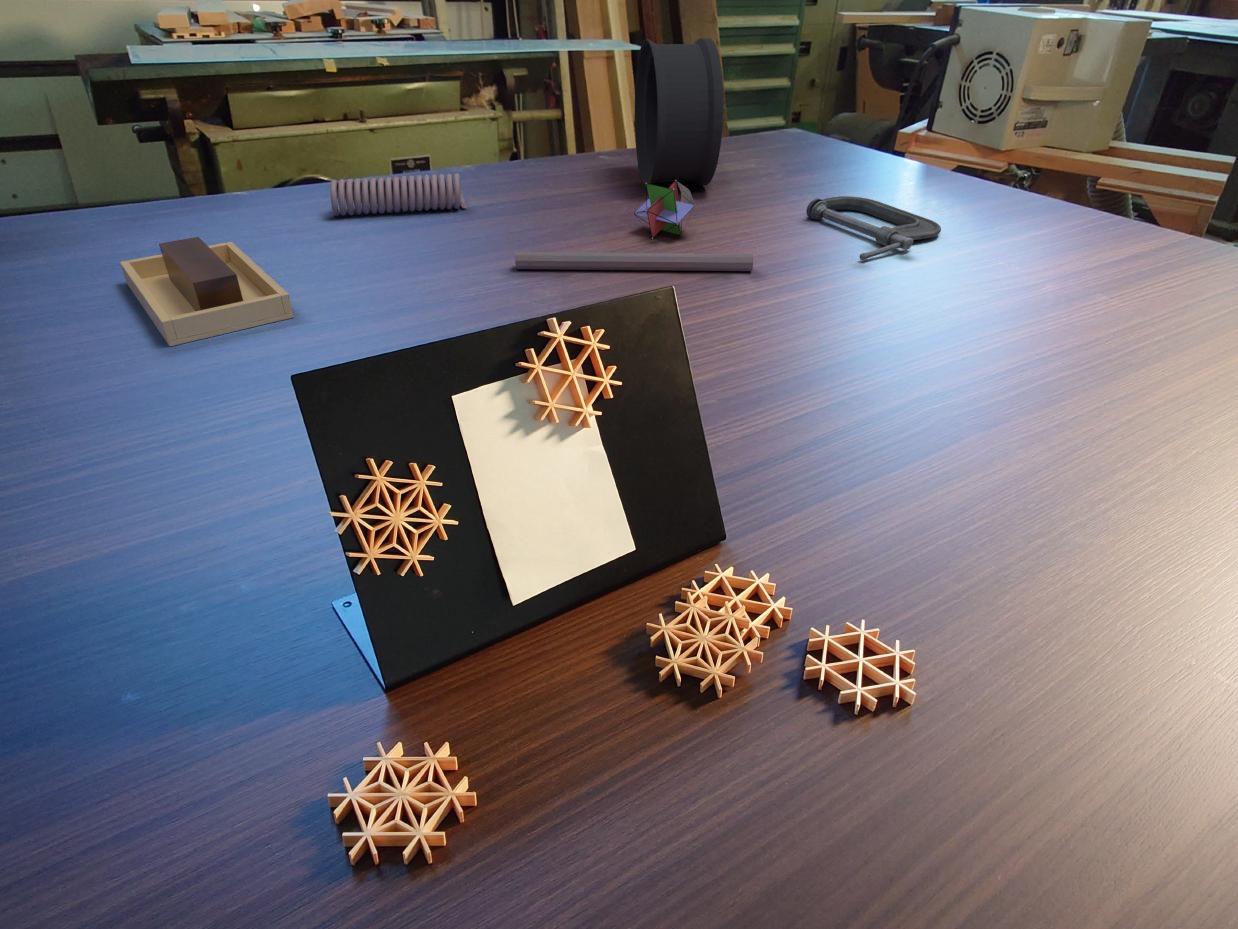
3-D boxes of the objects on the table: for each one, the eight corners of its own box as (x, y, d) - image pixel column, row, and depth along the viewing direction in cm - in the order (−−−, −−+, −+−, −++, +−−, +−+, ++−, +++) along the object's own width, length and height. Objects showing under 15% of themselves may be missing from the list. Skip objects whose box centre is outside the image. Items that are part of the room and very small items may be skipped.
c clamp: (970, 244, 102) (975, 222, 101) (862, 263, 96) (866, 240, 95) (865, 202, 117) (868, 183, 116) (766, 216, 111) (768, 196, 110)
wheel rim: (716, 201, 117) (728, 47, 106) (655, 203, 116) (660, 47, 105) (687, 167, 134) (695, 30, 122) (633, 168, 132) (635, 30, 121)
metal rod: (752, 273, 93) (753, 256, 92) (515, 271, 92) (514, 254, 91) (749, 267, 94) (751, 251, 93) (517, 265, 94) (516, 249, 93)
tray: (169, 346, 75) (161, 321, 74) (126, 283, 88) (119, 261, 87) (294, 317, 81) (288, 293, 80) (237, 262, 94) (231, 241, 93)
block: (204, 322, 79) (192, 282, 76) (169, 279, 88) (158, 243, 86) (246, 312, 81) (236, 274, 79) (208, 271, 90) (198, 236, 88)
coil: (325, 187, 105) (465, 179, 109) (326, 174, 108) (461, 167, 112) (332, 221, 108) (468, 213, 112) (333, 208, 111) (464, 200, 115)
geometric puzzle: (662, 233, 98) (687, 171, 98) (617, 221, 101) (641, 161, 101) (686, 255, 104) (709, 197, 104) (643, 244, 107) (665, 187, 107)
